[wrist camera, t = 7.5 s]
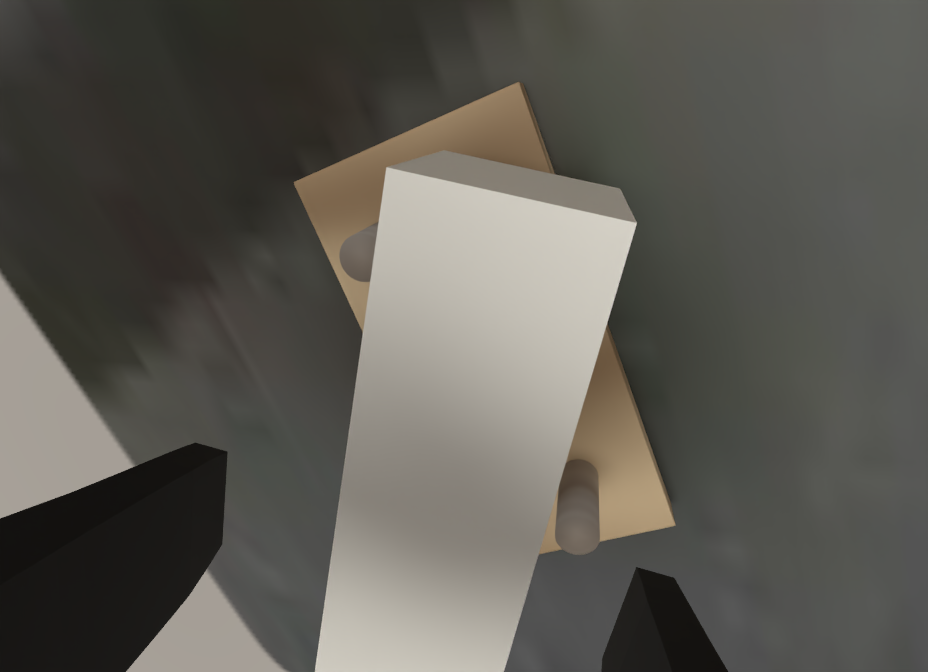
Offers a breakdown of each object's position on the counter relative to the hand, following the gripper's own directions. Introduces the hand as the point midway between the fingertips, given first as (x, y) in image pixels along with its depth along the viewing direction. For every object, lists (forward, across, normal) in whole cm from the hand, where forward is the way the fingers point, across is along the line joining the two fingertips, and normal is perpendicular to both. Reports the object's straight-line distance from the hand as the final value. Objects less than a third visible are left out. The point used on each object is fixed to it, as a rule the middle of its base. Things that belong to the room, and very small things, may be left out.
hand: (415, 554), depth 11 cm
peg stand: (+10, 0, 0) cm, 10 cm away
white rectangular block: (+6, 0, 0) cm, 6 cm away
